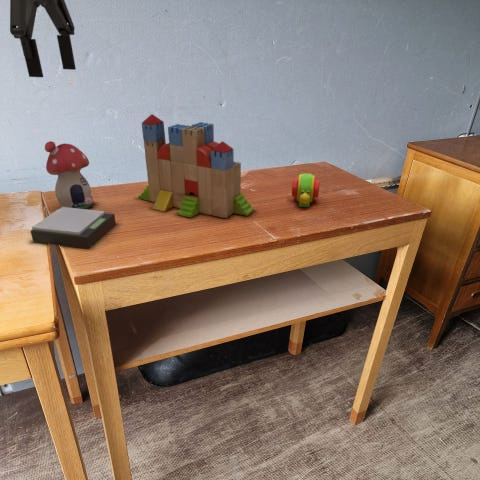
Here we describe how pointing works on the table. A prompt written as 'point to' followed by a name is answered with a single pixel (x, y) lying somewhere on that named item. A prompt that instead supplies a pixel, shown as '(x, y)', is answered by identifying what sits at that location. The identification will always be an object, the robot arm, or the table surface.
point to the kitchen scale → (73, 227)
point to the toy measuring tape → (305, 189)
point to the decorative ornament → (69, 175)
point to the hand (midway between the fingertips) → (53, 73)
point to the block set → (191, 171)
